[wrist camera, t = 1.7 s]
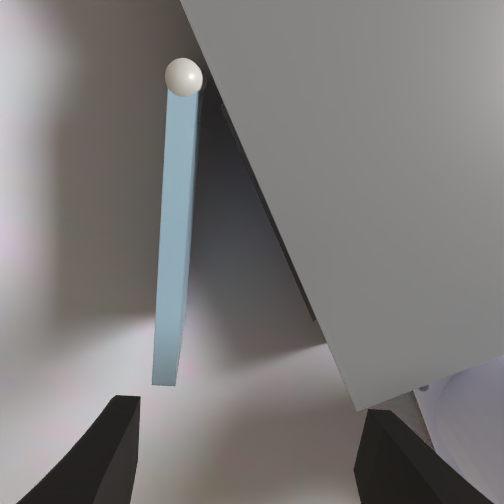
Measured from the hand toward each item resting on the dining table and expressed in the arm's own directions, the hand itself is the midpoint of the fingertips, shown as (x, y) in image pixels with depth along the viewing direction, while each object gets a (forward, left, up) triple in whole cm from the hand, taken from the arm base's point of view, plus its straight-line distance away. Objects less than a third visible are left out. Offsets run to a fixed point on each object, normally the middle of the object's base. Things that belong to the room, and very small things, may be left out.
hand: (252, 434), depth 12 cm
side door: (+5, 0, -9) cm, 10 cm away
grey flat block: (+5, -8, -9) cm, 13 cm away
